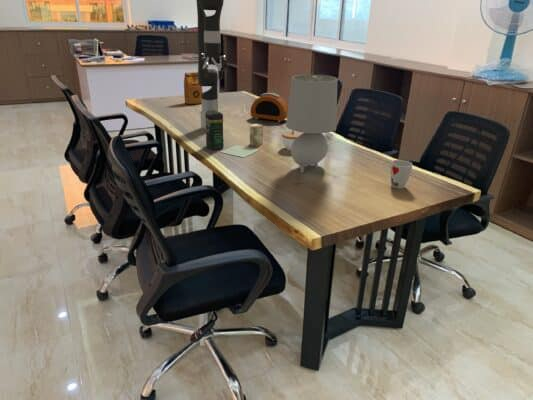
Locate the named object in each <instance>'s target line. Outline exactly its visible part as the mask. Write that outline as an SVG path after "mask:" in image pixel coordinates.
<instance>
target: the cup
mask: <svg viewBox="0 0 533 400" xmlns="http://www.w3.org/2000/svg"><path fill="white" fill-rule="evenodd" d="M412 169H413V163H412V162H410V161H408V160H402V159H395V160H394V159H393V160H391V166H390V184H391V187H392V188H394V189H399V190H400V189H404V188H405V187H406V185H407V184H408V181H409V178H410V176H411V172H412Z"/></svg>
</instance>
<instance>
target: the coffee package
mask: <svg viewBox="0 0 533 400" xmlns="http://www.w3.org/2000/svg"><path fill="white" fill-rule="evenodd" d="M183 91H184V93H183V94H184V103H185V104H187V105H198V104H202V100H201V94H202V93H203V86H200V85H199V83H198V71H195V72H194V71H193V72H185V73H184V77H183Z"/></svg>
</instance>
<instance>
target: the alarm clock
mask: <svg viewBox="0 0 533 400" xmlns="http://www.w3.org/2000/svg"><path fill="white" fill-rule="evenodd" d="M288 105H289V104H288V103H287V102H286V100H285V99H284V98H283V97H281V95H280V94H277V93H273V92H265V93H262V94H260V97H257V98H256V99H255V100H254V101H253V103H252V104H251V107H250V116H251V117H252V118H254V119H255V120H258V119H262V120H263V119H264V120H273V121H277V122H278V123H280V122H283V121H284V120H287V113H288Z"/></svg>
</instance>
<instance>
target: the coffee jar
mask: <svg viewBox="0 0 533 400" xmlns="http://www.w3.org/2000/svg"><path fill="white" fill-rule="evenodd" d="M205 119H206V130H205V134H206V135H205V138H206V139H205V140H206V143H205V144H206V147H207V149H210V150H217V151H218V150H221V149H224V114H223V113H222V112H220V111H219V110H218V111H216V110H208V111H207V112H206V115H205Z"/></svg>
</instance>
